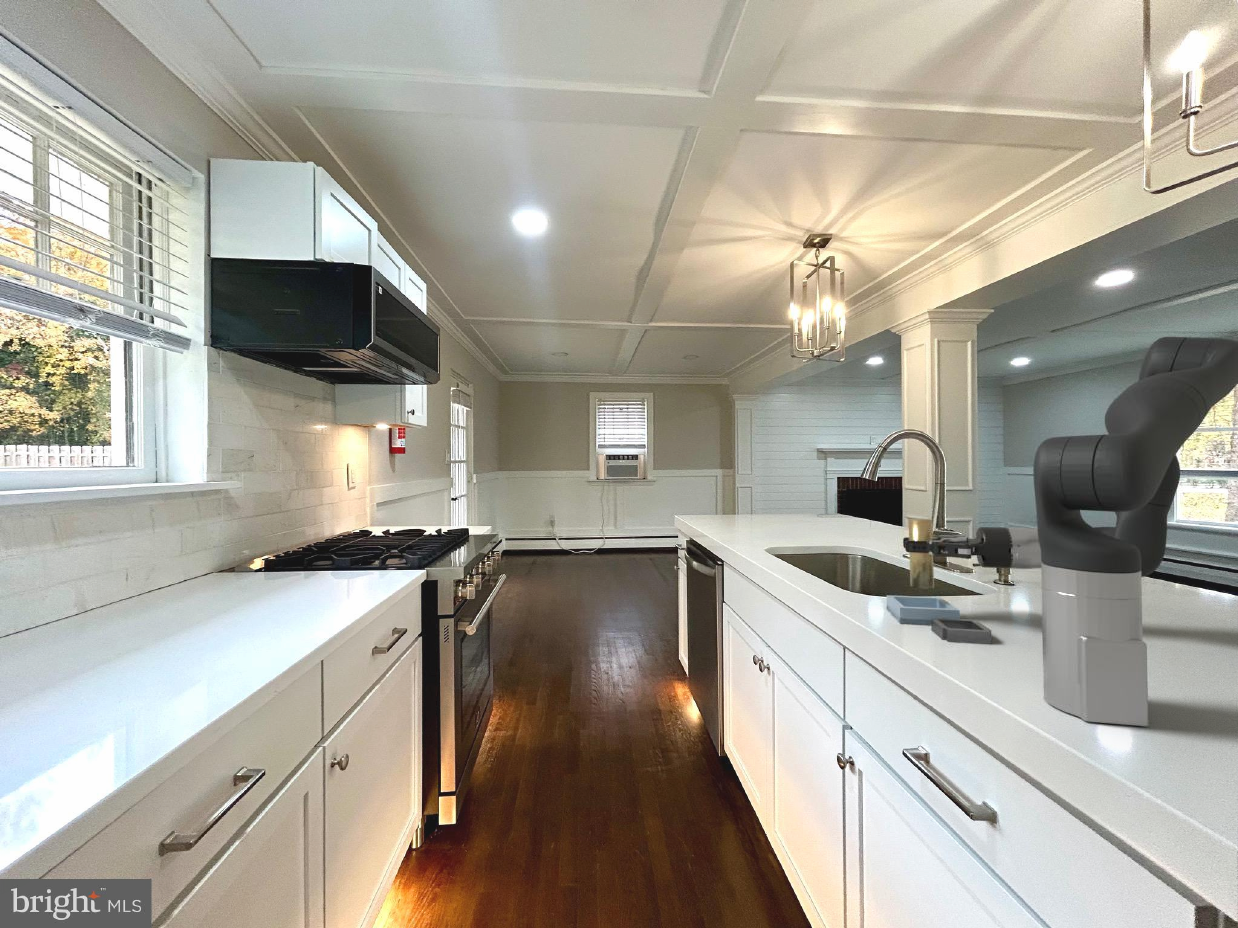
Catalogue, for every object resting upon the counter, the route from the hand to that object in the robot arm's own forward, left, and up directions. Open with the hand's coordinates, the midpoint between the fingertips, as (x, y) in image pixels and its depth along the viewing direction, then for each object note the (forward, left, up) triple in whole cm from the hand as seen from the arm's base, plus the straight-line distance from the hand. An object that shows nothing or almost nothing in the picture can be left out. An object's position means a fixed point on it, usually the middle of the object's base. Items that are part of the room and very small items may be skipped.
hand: (904, 544), depth 106 cm
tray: (-1, -3, -14) cm, 14 cm away
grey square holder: (-12, -6, -14) cm, 19 cm away
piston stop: (0, -3, -8) cm, 8 cm away
